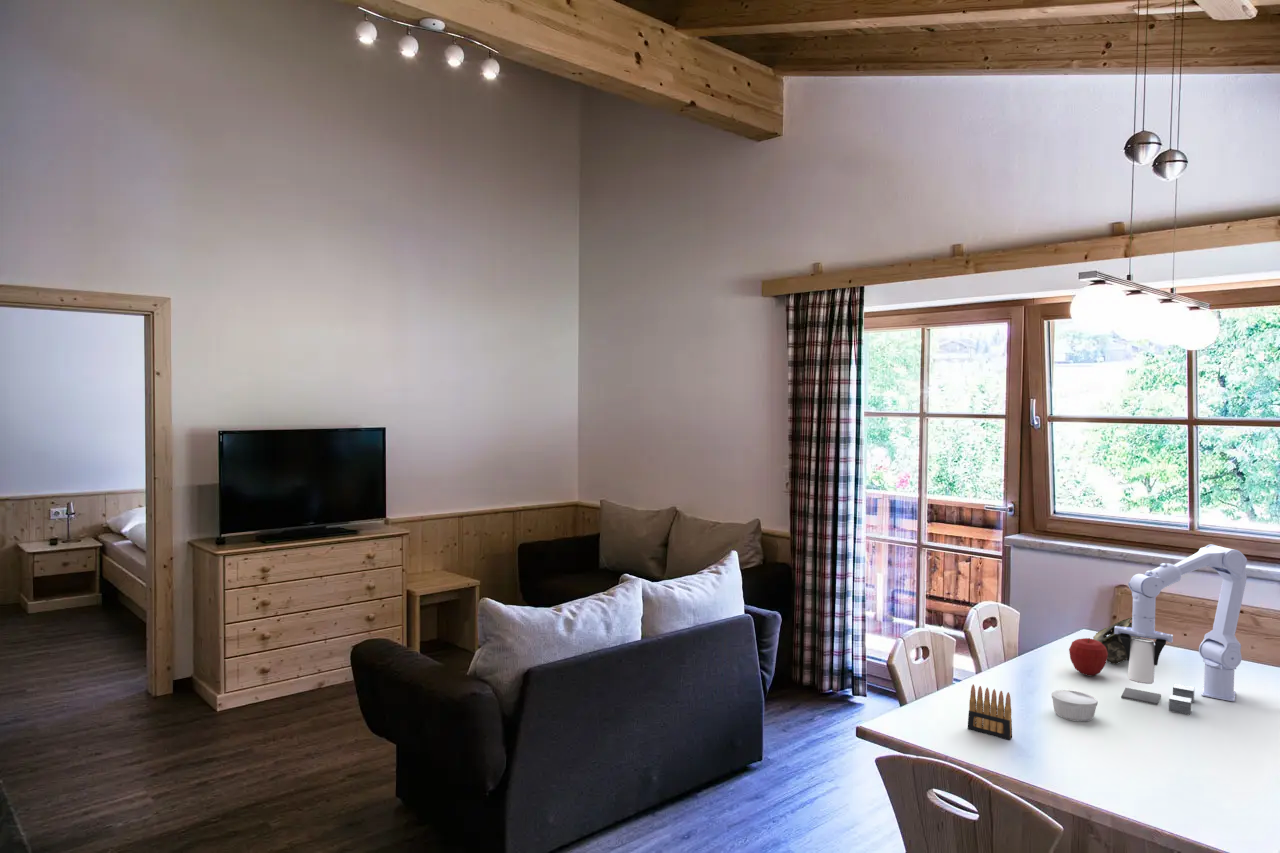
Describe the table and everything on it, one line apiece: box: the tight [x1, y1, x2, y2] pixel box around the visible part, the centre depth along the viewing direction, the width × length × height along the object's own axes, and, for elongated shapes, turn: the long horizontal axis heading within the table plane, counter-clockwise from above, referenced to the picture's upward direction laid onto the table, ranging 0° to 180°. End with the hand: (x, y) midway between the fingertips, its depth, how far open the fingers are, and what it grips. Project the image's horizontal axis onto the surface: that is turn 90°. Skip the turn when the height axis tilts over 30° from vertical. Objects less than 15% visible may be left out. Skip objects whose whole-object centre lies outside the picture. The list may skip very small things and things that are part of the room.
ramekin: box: [1051, 689, 1099, 722], centre depth 229 cm, size 11×11×5 cm
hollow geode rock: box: [1092, 617, 1141, 665], centre depth 280 cm, size 28×13×15 cm
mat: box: [1120, 687, 1162, 706], centre depth 244 cm, size 9×9×1 cm
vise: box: [1168, 683, 1196, 716], centre depth 238 cm, size 17×5×4 cm, turn 143°
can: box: [1127, 637, 1156, 685], centre depth 243 cm, size 6×6×12 cm
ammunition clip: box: [967, 684, 1013, 741], centre depth 216 cm, size 11×2×12 cm, turn 50°
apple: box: [1068, 637, 1108, 677], centre depth 263 cm, size 11×11×12 cm
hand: (1142, 662), depth 243 cm, fingers closed on can, 6 cm apart
